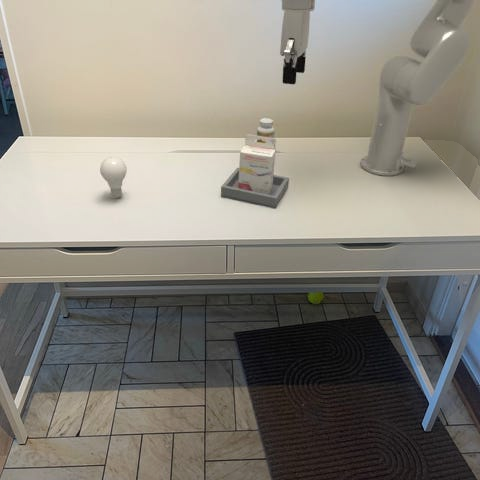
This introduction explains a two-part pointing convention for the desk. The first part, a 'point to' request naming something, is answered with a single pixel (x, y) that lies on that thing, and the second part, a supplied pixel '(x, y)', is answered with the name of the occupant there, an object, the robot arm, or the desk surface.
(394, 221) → the desk surface
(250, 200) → the tray
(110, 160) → the lightbulb
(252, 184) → the ink cartridge box
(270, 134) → the supplement bottle
